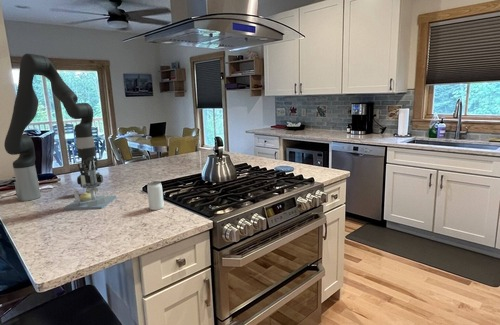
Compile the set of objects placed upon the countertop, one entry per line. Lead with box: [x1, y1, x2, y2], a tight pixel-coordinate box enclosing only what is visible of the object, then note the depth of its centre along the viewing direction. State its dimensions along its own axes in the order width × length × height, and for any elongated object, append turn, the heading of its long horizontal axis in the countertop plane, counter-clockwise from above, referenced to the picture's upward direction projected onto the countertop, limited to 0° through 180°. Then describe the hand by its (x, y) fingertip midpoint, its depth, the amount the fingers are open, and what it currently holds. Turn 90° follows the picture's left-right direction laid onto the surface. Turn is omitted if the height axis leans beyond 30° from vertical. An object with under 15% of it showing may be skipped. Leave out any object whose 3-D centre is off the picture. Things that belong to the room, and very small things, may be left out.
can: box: [146, 180, 165, 211], centre depth 144 cm, size 6×6×12 cm
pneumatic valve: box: [76, 171, 104, 194], centre depth 170 cm, size 6×12×12 cm, turn 102°
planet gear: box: [82, 169, 101, 189], centre depth 151 cm, size 8×8×8 cm
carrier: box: [62, 188, 117, 211], centre depth 153 cm, size 18×16×8 cm
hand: (91, 181), depth 151 cm, fingers closed on planet gear, 4 cm apart
